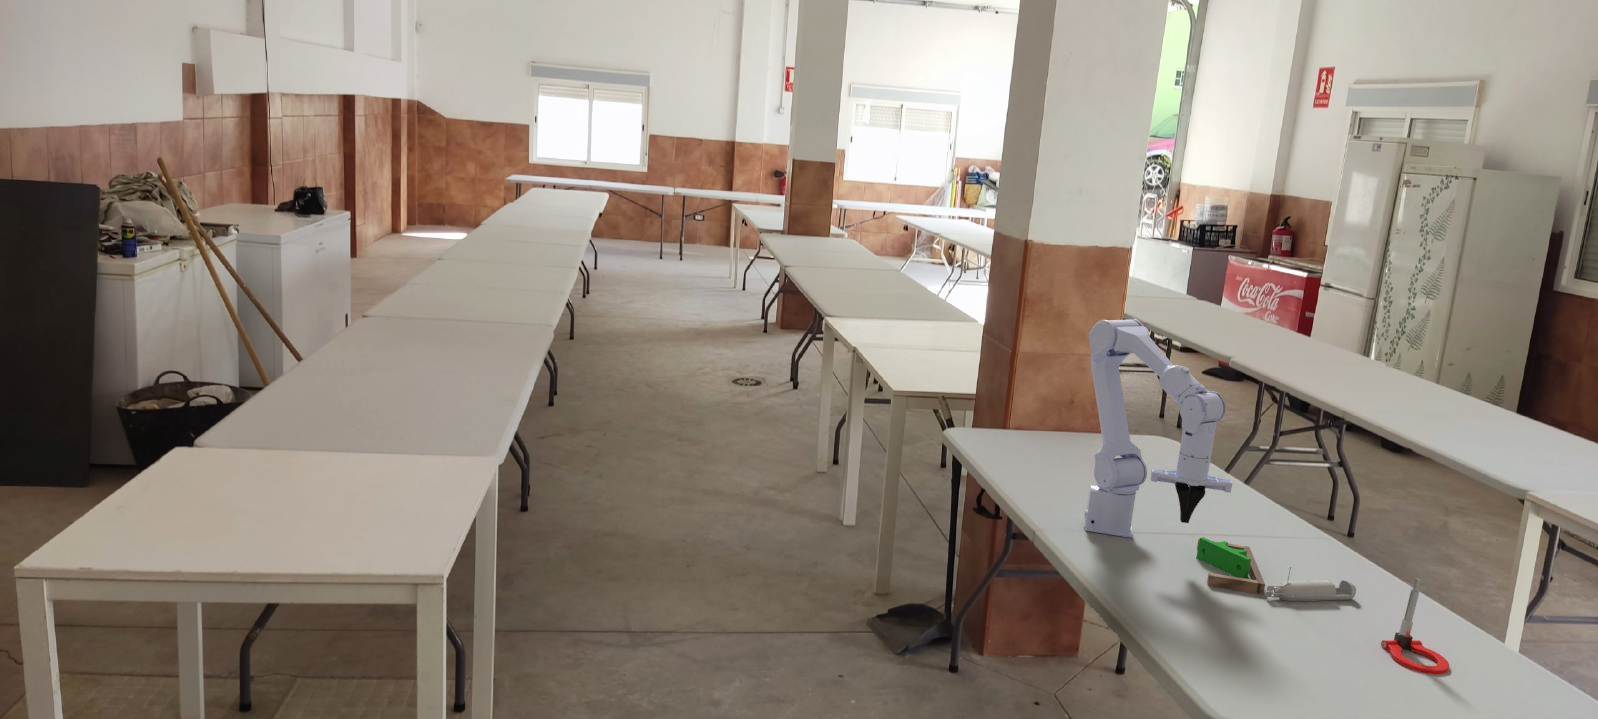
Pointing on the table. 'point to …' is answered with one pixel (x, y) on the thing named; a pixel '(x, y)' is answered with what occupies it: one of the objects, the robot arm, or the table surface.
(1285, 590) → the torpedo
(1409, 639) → the tow hook
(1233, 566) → the pipe clamp
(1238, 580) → the walnut bay
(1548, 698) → the table surface
